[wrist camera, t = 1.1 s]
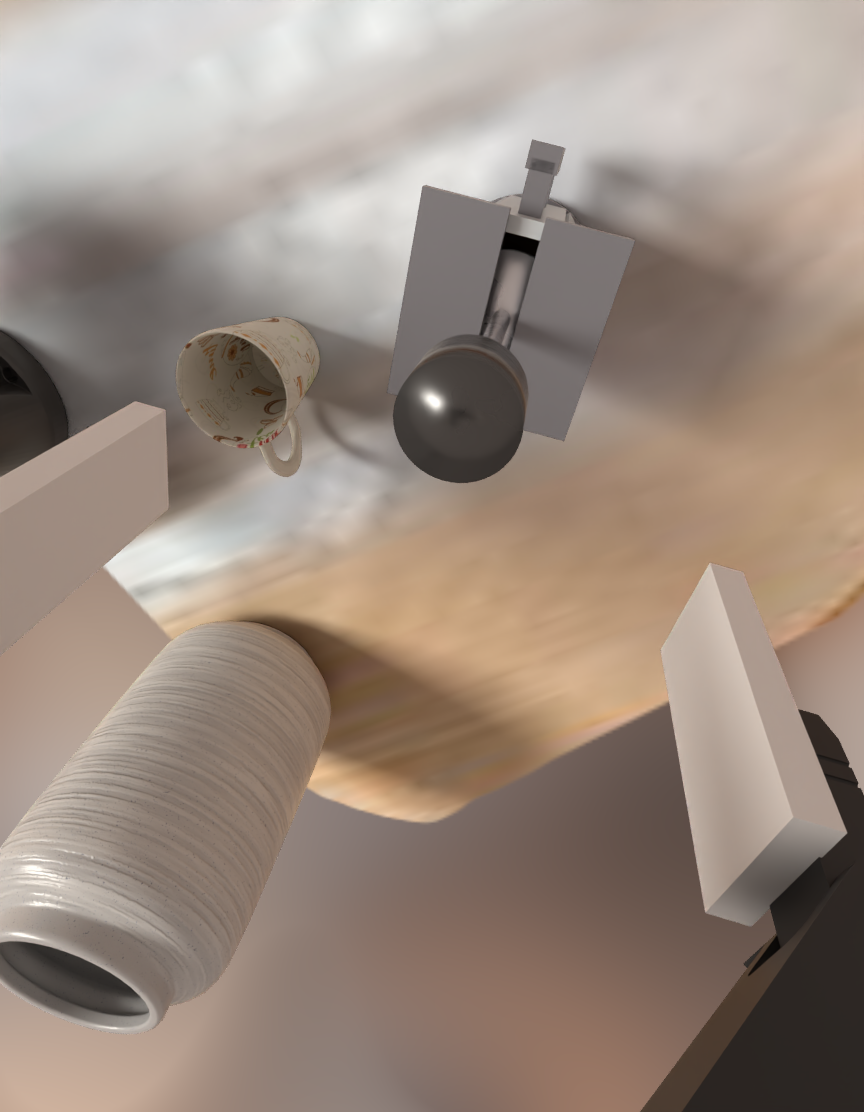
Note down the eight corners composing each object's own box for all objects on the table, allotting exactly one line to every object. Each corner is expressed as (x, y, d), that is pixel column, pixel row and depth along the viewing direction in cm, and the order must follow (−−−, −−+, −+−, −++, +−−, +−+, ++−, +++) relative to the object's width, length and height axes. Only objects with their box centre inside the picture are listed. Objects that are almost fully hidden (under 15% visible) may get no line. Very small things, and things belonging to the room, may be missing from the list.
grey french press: (433, 332, 49) (386, 392, 37) (475, 126, 41) (435, 114, 29) (566, 368, 48) (564, 441, 36) (633, 165, 41) (659, 171, 29)
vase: (166, 582, 68) (-113, 878, 40) (347, 617, 66) (184, 955, 38) (189, 712, 79) (-18, 1014, 51) (344, 745, 77) (216, 1079, 49)
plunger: (431, 359, 37) (347, 484, 23) (457, 234, 33) (375, 292, 19) (543, 390, 37) (526, 534, 23) (582, 266, 33) (590, 349, 19)
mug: (314, 290, 49) (261, 318, 41) (362, 440, 55) (324, 491, 47) (221, 313, 51) (154, 344, 43) (277, 455, 57) (227, 507, 49)
